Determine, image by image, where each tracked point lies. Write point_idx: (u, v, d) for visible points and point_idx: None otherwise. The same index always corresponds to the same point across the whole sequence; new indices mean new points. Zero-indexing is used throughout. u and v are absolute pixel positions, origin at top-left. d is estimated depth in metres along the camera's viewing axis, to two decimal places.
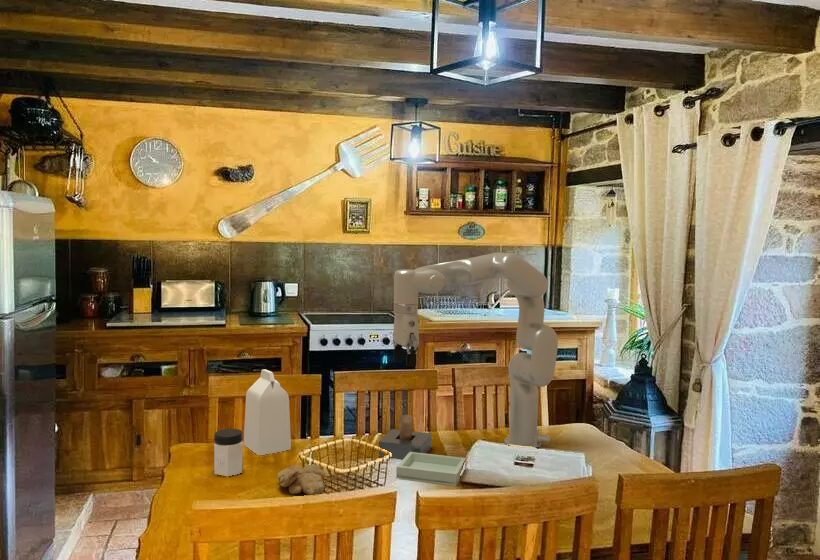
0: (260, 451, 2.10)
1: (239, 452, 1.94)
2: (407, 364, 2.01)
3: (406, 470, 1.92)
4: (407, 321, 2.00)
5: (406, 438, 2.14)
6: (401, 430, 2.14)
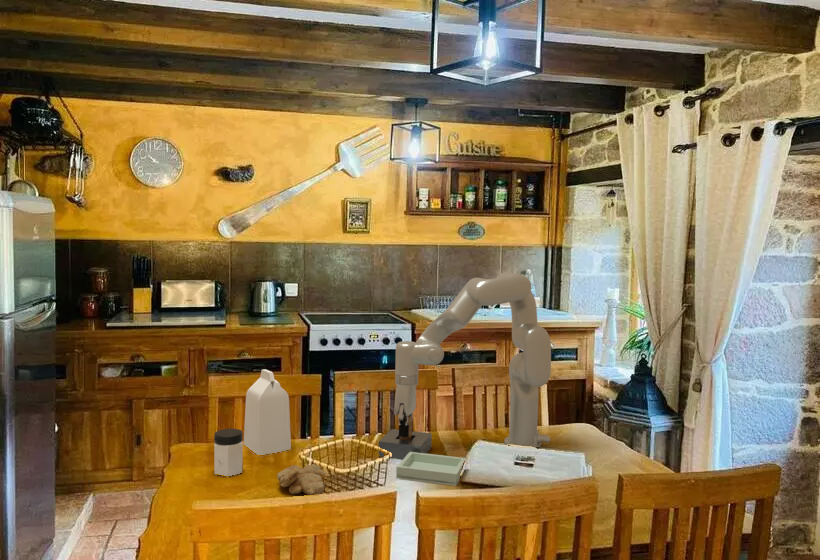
0: (260, 451, 2.10)
1: (239, 452, 1.94)
2: None
3: (406, 470, 1.92)
4: None
5: (406, 438, 2.14)
6: None
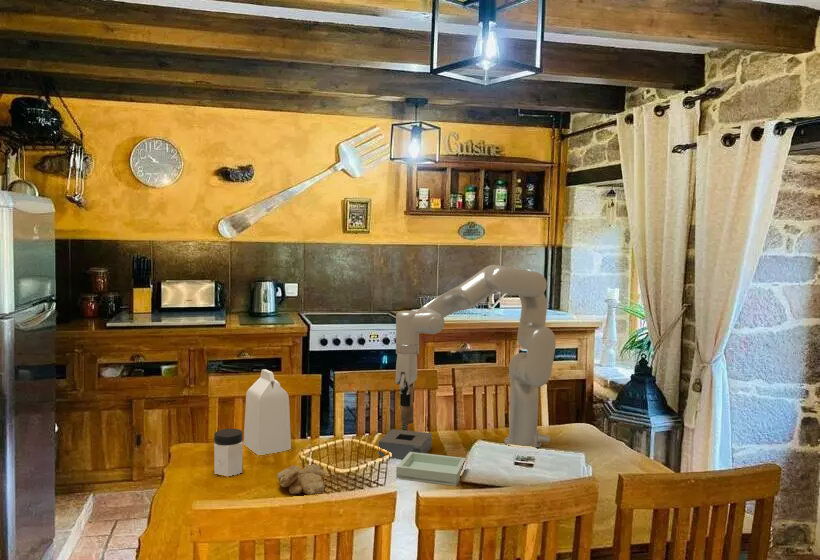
0: (260, 451, 2.10)
1: (239, 452, 1.94)
2: None
3: (406, 470, 1.92)
4: None
5: (408, 407, 2.13)
6: None
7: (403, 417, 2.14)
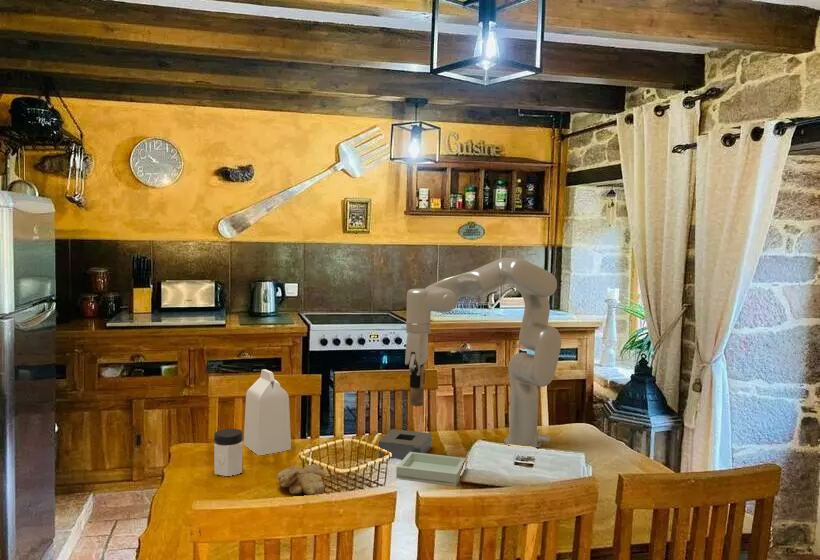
0: (260, 451, 2.10)
1: (239, 452, 1.94)
2: None
3: (406, 470, 1.92)
4: None
5: (418, 389, 2.05)
6: None
7: (412, 399, 2.05)
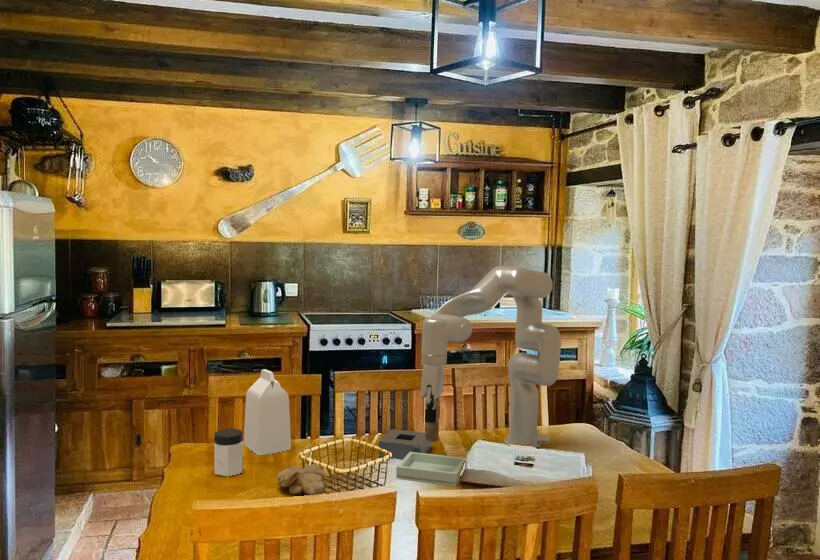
0: (260, 451, 2.10)
1: (239, 452, 1.94)
2: None
3: (406, 470, 1.92)
4: None
5: (433, 423, 1.94)
6: None
7: (427, 434, 1.95)
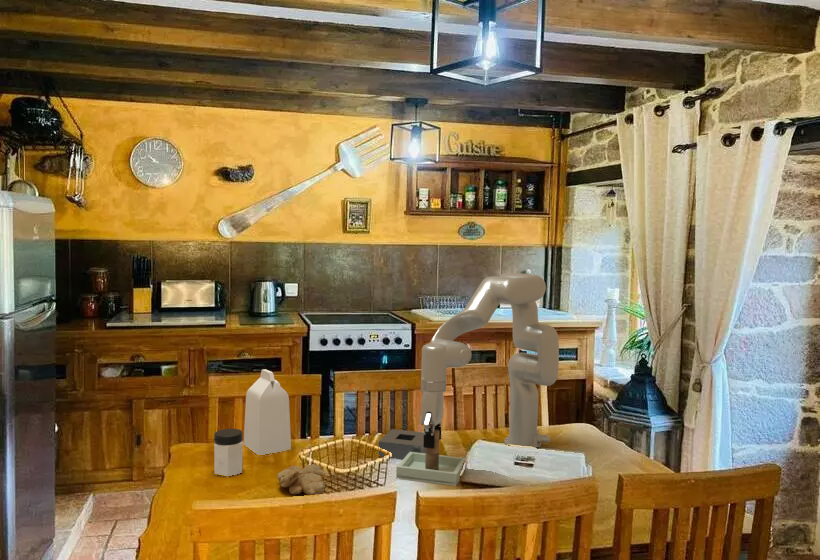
0: (260, 451, 2.10)
1: (239, 452, 1.94)
2: None
3: (406, 470, 1.92)
4: None
5: (433, 455, 1.95)
6: None
7: (428, 465, 1.96)
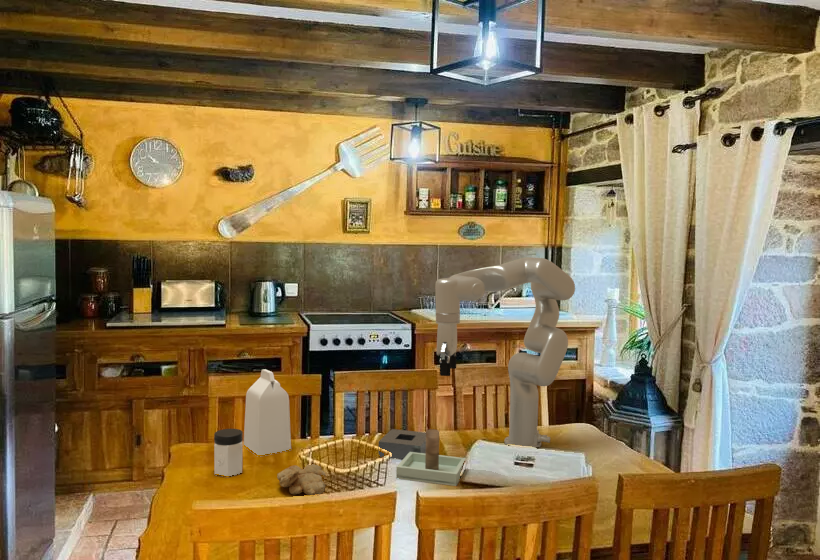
0: (260, 451, 2.10)
1: (239, 452, 1.94)
2: None
3: (406, 470, 1.92)
4: None
5: (433, 455, 1.95)
6: (427, 446, 1.95)
7: (428, 465, 1.96)
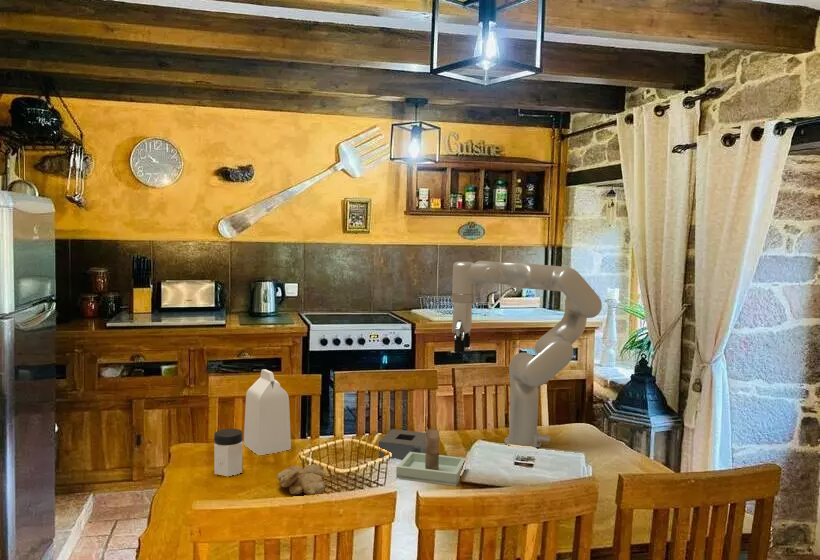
0: (260, 451, 2.10)
1: (239, 452, 1.94)
2: None
3: (406, 470, 1.92)
4: None
5: (433, 455, 1.95)
6: (427, 446, 1.95)
7: (428, 465, 1.96)
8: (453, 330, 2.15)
